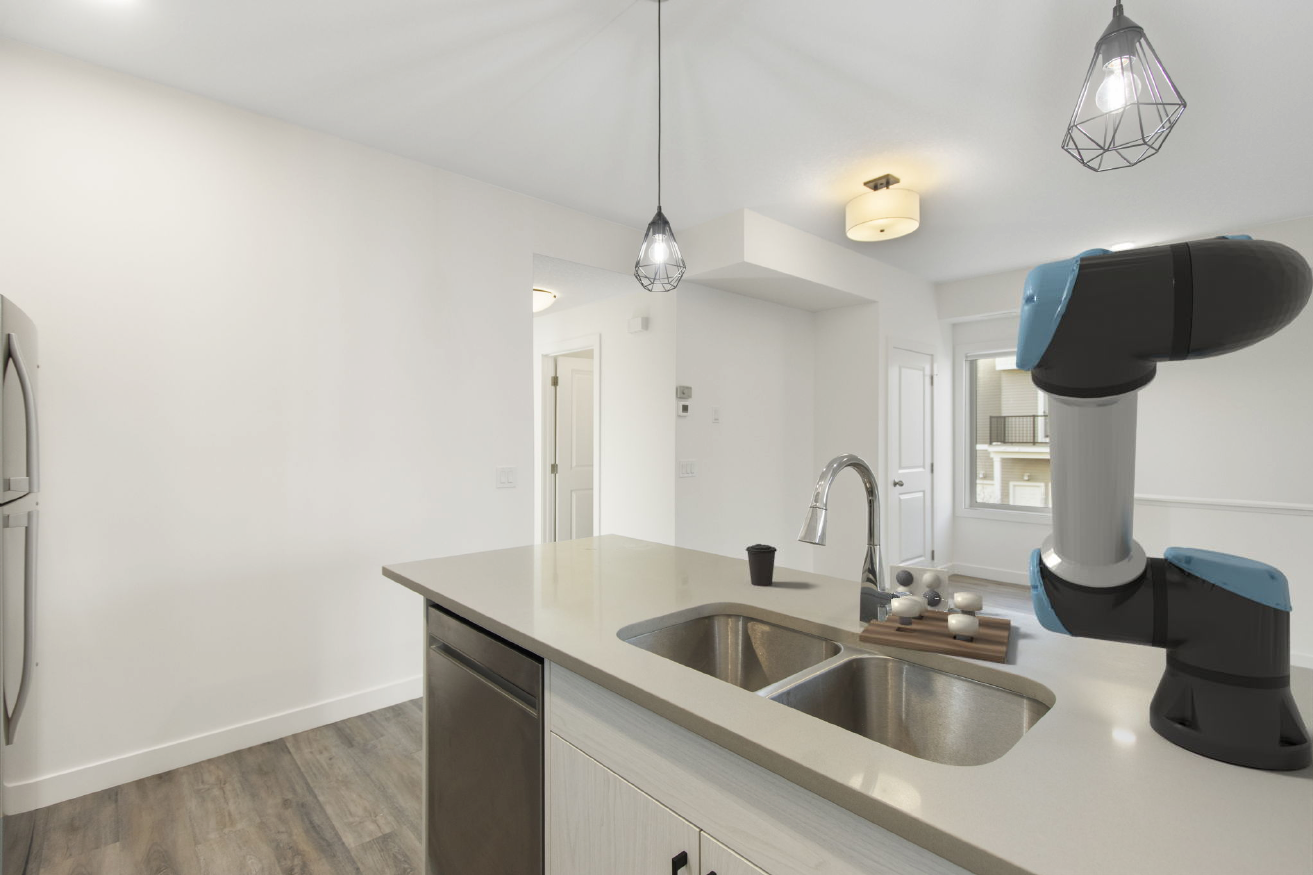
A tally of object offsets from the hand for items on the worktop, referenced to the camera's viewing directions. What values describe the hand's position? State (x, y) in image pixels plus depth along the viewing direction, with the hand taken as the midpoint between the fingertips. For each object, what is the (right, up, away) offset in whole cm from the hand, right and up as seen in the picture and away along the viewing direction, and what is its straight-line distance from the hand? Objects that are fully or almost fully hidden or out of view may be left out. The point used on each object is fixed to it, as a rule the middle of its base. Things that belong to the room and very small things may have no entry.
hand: (1093, 487), depth 107 cm
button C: (-13, -27, +17) cm, 35 cm away
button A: (-18, -29, +9) cm, 35 cm away
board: (-19, -30, +16) cm, 39 cm away
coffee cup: (-47, -30, +58) cm, 80 cm away
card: (-15, -29, +35) cm, 48 cm away
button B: (-26, -27, +14) cm, 40 cm away
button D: (-21, -29, +23) cm, 42 cm away
